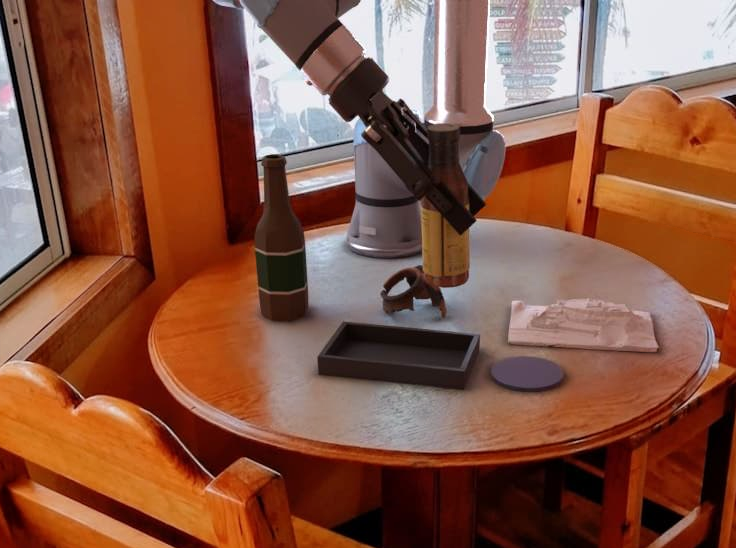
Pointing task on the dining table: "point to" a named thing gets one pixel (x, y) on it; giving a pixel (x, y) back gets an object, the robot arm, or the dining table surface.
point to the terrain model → (582, 326)
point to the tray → (400, 355)
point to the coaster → (526, 373)
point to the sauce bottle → (439, 239)
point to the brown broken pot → (411, 291)
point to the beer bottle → (280, 249)
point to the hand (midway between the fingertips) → (473, 219)
